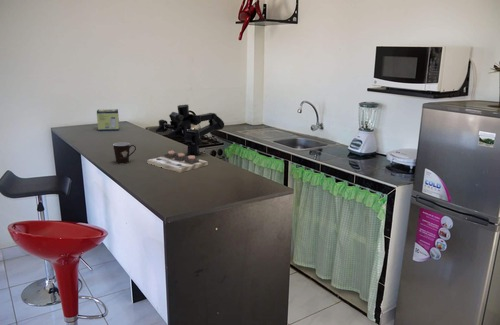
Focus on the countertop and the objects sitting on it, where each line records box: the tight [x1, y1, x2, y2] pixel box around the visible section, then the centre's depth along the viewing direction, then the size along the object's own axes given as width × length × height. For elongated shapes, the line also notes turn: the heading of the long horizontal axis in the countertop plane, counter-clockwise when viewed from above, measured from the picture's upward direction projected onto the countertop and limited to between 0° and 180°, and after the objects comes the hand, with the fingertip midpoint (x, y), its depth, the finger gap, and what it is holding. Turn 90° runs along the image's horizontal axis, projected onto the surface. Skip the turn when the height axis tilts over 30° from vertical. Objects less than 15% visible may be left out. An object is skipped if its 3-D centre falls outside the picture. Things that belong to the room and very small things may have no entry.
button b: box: [187, 155, 196, 161], centre depth 203 cm, size 4×4×2 cm
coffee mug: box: [112, 142, 137, 164], centre depth 207 cm, size 12×9×10 cm
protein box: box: [96, 109, 120, 132], centre depth 297 cm, size 10×16×16 cm
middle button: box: [177, 152, 186, 158], centre depth 208 cm, size 4×4×2 cm
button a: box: [167, 150, 176, 155], centre depth 213 cm, size 4×4×2 cm
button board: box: [146, 152, 209, 174], centre depth 206 cm, size 20×26×4 cm
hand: (162, 133), depth 205 cm, fingers open, 9 cm apart
